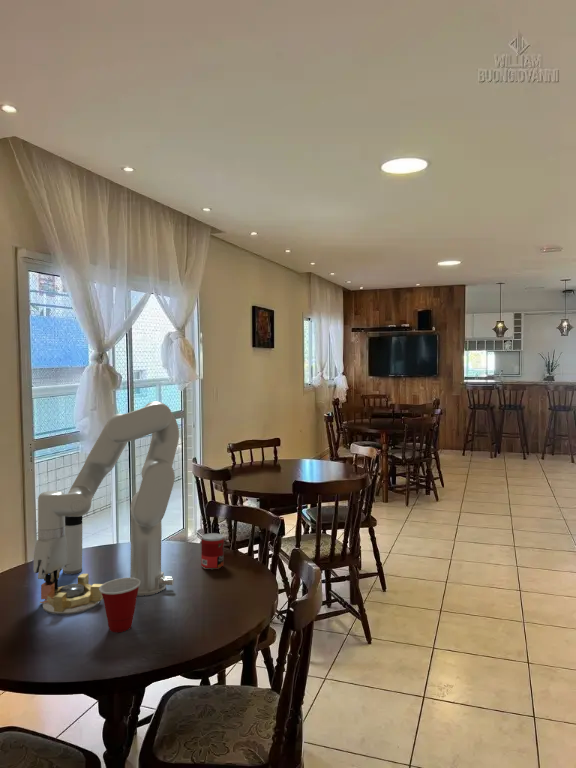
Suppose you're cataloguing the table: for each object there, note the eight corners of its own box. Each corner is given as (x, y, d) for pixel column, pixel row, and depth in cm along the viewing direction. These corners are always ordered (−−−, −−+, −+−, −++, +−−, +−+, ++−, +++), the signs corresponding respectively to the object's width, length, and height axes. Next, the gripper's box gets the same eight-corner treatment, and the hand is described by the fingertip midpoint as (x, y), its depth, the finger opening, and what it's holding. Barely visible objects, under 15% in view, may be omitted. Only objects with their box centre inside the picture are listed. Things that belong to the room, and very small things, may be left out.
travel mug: (63, 576, 183) (64, 517, 182) (61, 569, 188) (62, 512, 188) (83, 573, 185) (83, 515, 185) (80, 567, 191) (81, 510, 191)
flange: (109, 593, 169) (109, 579, 169) (86, 615, 153) (86, 600, 153) (57, 591, 170) (57, 577, 170) (30, 613, 154) (30, 597, 154)
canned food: (222, 570, 190) (222, 539, 190) (199, 570, 190) (199, 539, 190) (224, 563, 197) (225, 533, 197) (203, 562, 198) (203, 532, 197)
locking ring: (86, 585, 171) (86, 572, 171) (105, 599, 161) (105, 585, 161) (39, 597, 162) (39, 583, 162) (56, 613, 151) (56, 598, 151)
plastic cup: (107, 618, 151) (107, 575, 151) (145, 619, 151) (145, 576, 151) (91, 636, 141) (92, 590, 140) (133, 637, 140) (133, 591, 140)
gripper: (57, 525, 172) (57, 582, 172) (23, 538, 157) (23, 601, 157) (77, 527, 170) (77, 585, 170) (45, 541, 155) (45, 604, 156)
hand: (51, 592), depth 164 cm, fingers closed
